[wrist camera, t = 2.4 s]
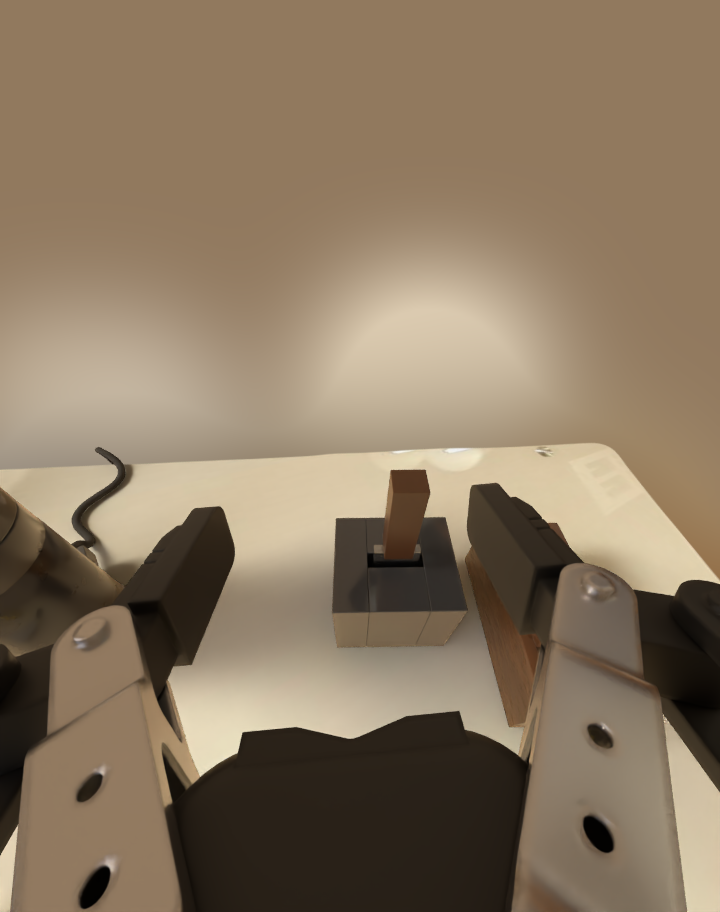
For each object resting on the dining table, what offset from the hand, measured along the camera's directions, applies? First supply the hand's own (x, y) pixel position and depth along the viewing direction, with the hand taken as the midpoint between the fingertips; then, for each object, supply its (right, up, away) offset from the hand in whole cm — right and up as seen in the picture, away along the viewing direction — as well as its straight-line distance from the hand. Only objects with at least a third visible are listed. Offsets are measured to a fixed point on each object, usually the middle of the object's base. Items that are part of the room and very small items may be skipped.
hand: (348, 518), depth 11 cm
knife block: (+3, -14, +26) cm, 30 cm away
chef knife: (+3, -14, +26) cm, 30 cm away
